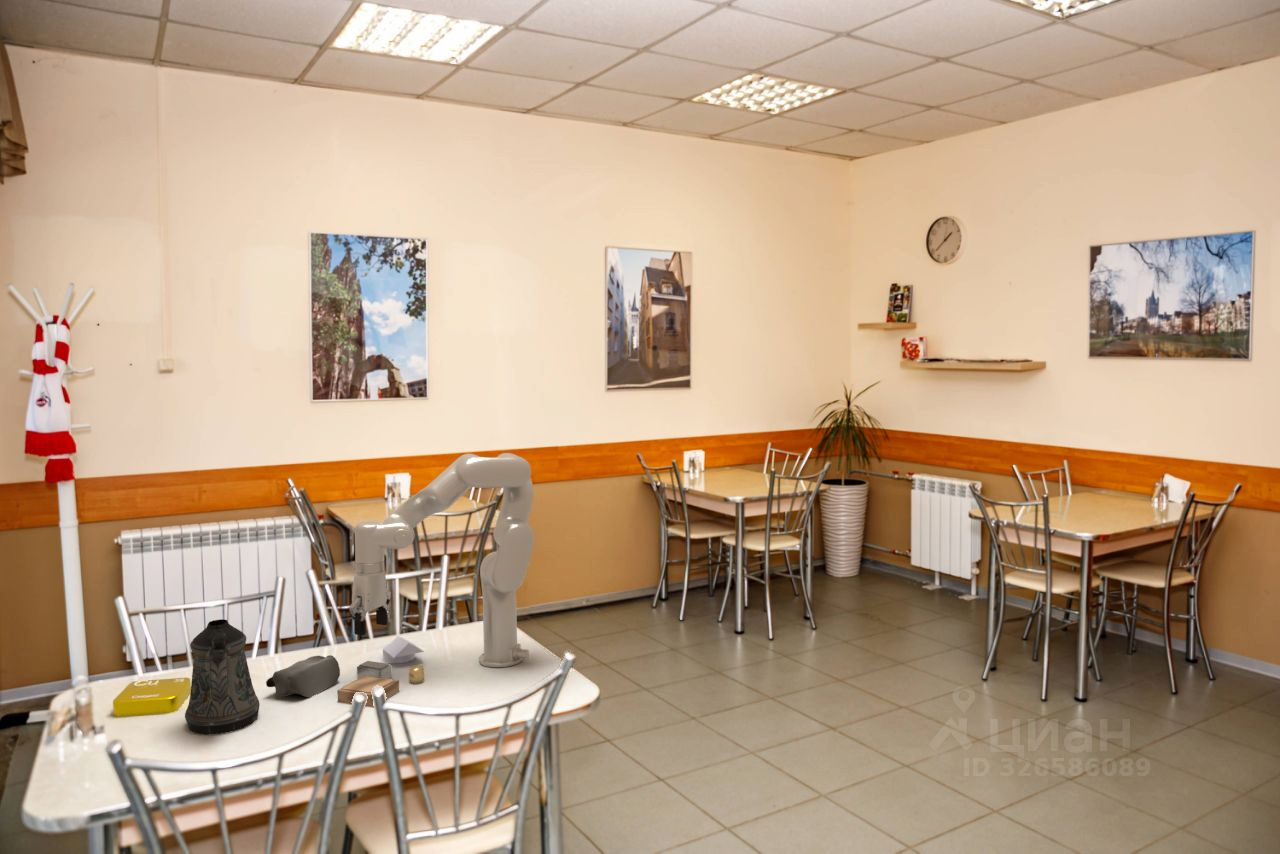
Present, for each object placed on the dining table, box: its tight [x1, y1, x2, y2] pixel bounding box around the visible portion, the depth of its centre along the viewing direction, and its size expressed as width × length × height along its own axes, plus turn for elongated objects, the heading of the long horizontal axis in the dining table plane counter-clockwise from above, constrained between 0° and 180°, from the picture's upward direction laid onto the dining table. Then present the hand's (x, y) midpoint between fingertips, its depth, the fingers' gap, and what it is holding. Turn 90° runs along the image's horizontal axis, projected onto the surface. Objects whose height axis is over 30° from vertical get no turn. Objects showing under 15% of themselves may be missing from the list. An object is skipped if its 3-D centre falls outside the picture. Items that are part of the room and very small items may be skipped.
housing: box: [356, 660, 393, 680], centre depth 252 cm, size 8×4×4 cm, turn 67°
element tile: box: [112, 677, 192, 718], centre depth 237 cm, size 15×15×5 cm
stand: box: [337, 676, 400, 708], centre depth 240 cm, size 11×11×3 cm
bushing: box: [408, 664, 425, 686], centre depth 250 cm, size 4×4×4 cm
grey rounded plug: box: [265, 655, 341, 698], centre depth 246 cm, size 18×11×8 cm, turn 157°
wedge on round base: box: [382, 635, 425, 664], centre depth 268 cm, size 9×7×13 cm
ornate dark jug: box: [184, 619, 261, 736], centre depth 223 cm, size 16×19×25 cm
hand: (371, 629), depth 251 cm, fingers open, 9 cm apart
